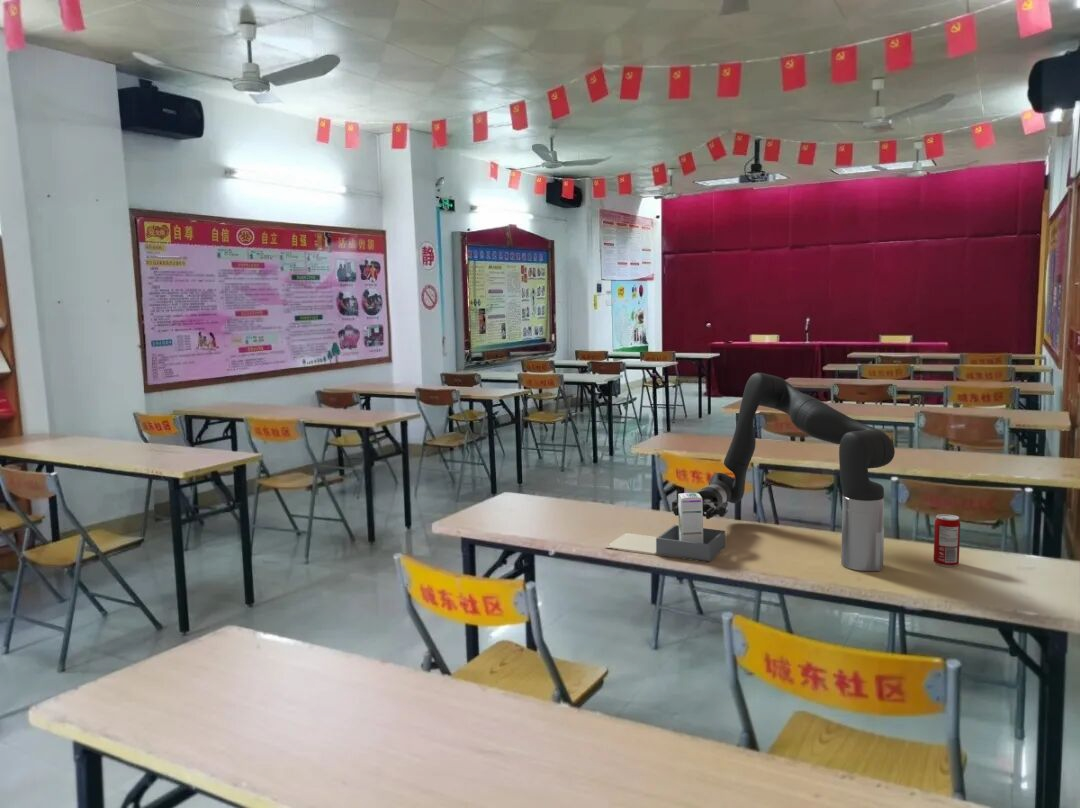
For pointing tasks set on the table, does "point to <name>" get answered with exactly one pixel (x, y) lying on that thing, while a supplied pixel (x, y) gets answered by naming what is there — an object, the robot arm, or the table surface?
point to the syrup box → (690, 517)
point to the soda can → (947, 540)
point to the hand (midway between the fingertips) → (691, 513)
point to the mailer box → (673, 544)
